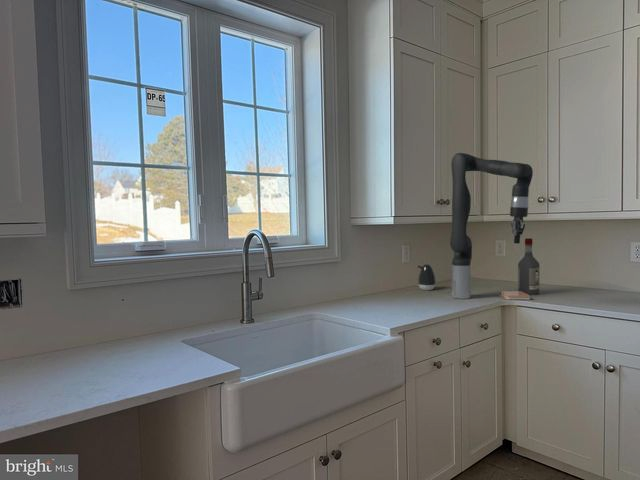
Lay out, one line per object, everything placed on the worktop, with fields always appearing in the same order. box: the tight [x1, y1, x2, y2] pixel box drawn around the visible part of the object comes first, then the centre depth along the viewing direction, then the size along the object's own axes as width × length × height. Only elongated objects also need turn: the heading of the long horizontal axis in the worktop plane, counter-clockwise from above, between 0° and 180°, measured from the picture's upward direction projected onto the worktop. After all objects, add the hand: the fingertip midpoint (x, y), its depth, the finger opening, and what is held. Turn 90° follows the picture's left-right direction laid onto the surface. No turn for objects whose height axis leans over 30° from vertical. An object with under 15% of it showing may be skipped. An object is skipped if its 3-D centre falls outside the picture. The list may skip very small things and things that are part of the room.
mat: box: [497, 294, 534, 301], centre depth 226 cm, size 14×12×1 cm
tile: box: [500, 290, 531, 299], centre depth 226 cm, size 10×2×14 cm
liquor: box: [517, 237, 540, 296], centre depth 237 cm, size 9×9×30 cm
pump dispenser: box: [417, 263, 437, 291], centre depth 257 cm, size 10×10×15 cm
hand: (516, 243), depth 205 cm, fingers closed
